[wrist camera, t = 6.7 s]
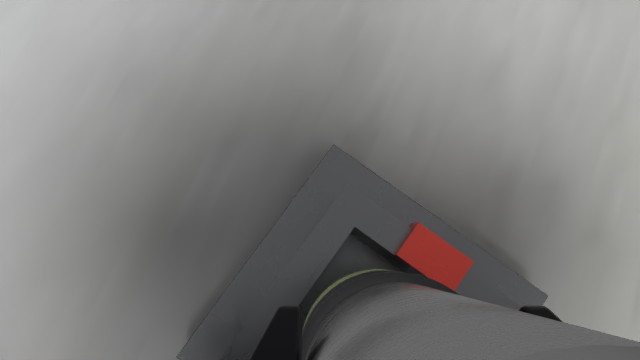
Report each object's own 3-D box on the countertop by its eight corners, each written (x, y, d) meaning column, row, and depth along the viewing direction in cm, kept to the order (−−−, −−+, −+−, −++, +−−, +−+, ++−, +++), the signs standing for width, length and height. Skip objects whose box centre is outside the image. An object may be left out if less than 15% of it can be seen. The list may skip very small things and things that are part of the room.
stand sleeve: (531, 292, 20) (611, 306, 14) (392, 510, 18) (422, 615, 13) (332, 152, 21) (337, 114, 15) (187, 349, 19) (135, 385, 14)
